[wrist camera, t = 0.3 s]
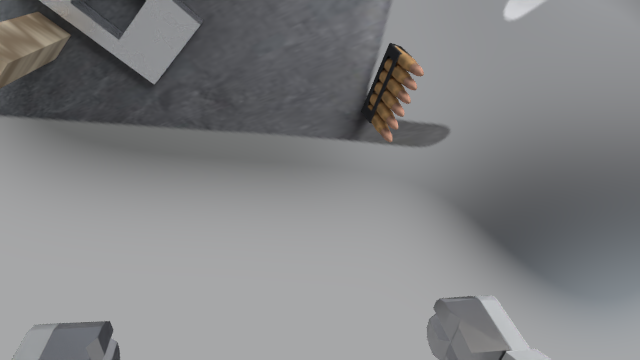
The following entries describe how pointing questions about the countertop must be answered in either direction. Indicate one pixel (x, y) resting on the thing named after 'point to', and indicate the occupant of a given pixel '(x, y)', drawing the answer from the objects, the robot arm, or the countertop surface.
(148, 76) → the block with square hole
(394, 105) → the ammunition clip
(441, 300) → the robot arm
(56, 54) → the square peg
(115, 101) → the countertop surface
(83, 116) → the countertop surface
